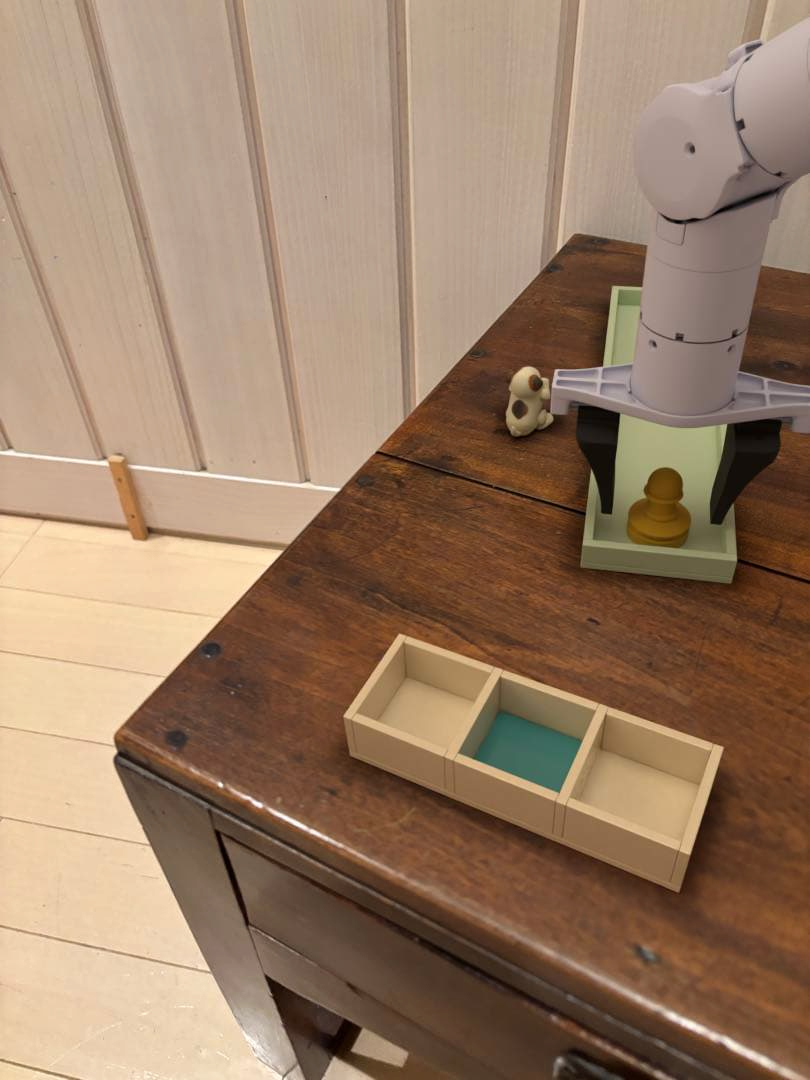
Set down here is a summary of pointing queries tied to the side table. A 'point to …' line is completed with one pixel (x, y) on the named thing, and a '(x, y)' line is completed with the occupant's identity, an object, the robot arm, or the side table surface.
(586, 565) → the tray
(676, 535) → the chess piece
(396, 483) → the side table surface
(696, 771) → the three-compartment organizer
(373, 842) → the side table surface
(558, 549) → the side table surface
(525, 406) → the toy dog
